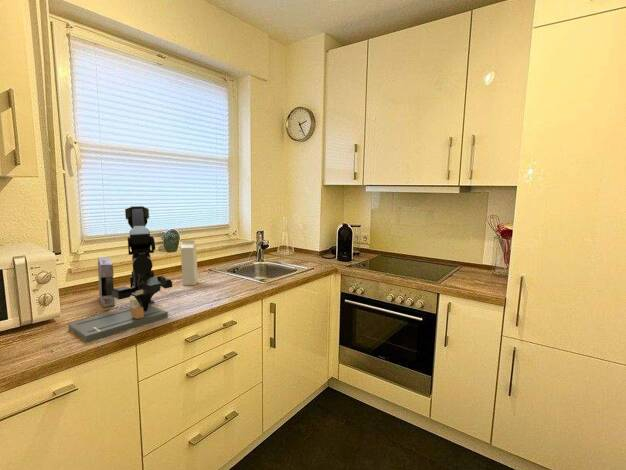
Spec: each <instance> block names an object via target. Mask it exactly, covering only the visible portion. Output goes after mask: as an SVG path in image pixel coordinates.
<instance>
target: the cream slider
mask: <svg viewBox="0 0 626 470" xmlns="http://www.w3.org/2000/svg"><path fill="white" fill-rule="evenodd" d="M135 305H139V306H140V304H139V302H138V301H137V299H136V298H135V297H134V296H133V297H129V308H131V307H132V306H135Z"/></svg>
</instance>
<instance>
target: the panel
mask: <svg viewBox="0 0 626 470" xmlns="http://www.w3.org/2000/svg"><path fill="white" fill-rule="evenodd" d="M143 313H144V317H142V318H138V319H136V318H134V317H132V316H131V307H127V308H125V309H124V308H123V309H120V310H116V311H112V312H108V313H104V314H100V315H97V316H93V317H89V318H86V319H81V320H78V321H77V320H76V321H73V322H69V323H68V324H67V325H68V331H70V332H71V333H73V334H75V335H76V336H77V337H78V338H79V339H81V340H83V341H84V342H85V343H88V342H92V341H95V340H98V339H102V338H104V337H108V336H112V335H114V334H118V333H122V332H125V331H127V330H132V329H134V328H138V327H141V326H144V325H148V324H150V323H153V322H157V321H160V320H164V319H167V318H168V317H169V316H168V315H169V314H168V313H169V312H168V311H166V310H164V309H161V308H159V307H156V306H154V305H152V304H149V306H148V309H147V311H146V312H144V311H143Z"/></svg>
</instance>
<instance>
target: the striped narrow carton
mask: <svg viewBox="0 0 626 470" xmlns="http://www.w3.org/2000/svg"><path fill="white" fill-rule="evenodd" d="M97 274H98V292H99V294H98V296H99V300H100V304H101V307H102V308H110V307H114V306H115V305H116V303H115V298H114V297H112V290H113V289H114V287H115V286H114V264H113V262H112V261H111V257H110V256H102V257H101V256H100V257H97Z"/></svg>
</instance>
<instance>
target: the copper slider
mask: <svg viewBox="0 0 626 470" xmlns="http://www.w3.org/2000/svg"><path fill="white" fill-rule="evenodd" d="M130 308H131V316H132V317H134V318H136V319H138V318H142V317H144V313H143V307H141V306H139V305H135V306H132V307H130Z"/></svg>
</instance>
